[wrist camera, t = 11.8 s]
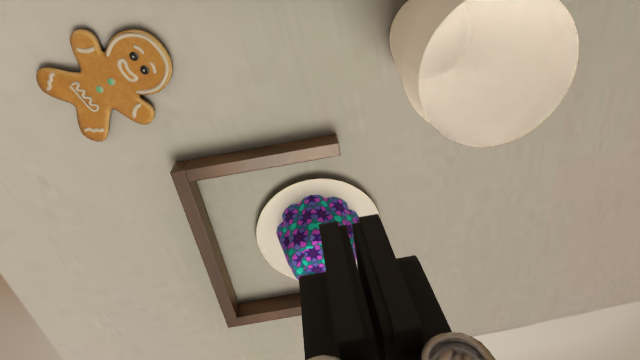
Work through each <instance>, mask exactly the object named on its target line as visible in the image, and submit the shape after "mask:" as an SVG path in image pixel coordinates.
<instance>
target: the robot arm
mask: <svg viewBox="0 0 640 360" xmlns="http://www.w3.org/2000/svg"><path fill="white" fill-rule="evenodd" d="M358 219H359V223H353V224H352V229H353V237H354V244H355V252H356V259H357V264H356V261H355V257H354V253H353V249H352V245H351V241H350V238H349V234H348V230H347V226H346V225H342V226H339V225H338V221H334V222H329V223H323V224H319V231H320V237H321V243H322V249H323V255H324V261H325V268H326V271H325V272H320V273H314V274H309V275H303V276H299V285H300V298H301V311H302V324H303V337H304V350H305V360H495V358H494V357H493V356H492V354H491V353H490V351H489V350H488V349H487V348H486V347H485V346H484V345H483V344H482V343H481V342H480V341H478V340H476V339H475V338H473V337H471V336H469V335H465V334H462V333H455V332H452V331H451V329H450V327H449V325H448V323H447V320H446V318H445V316H444V314H443V312H442V310H441V307H440V305H439V303H438V301H437V299H436V297H435V295H434V292H433V290H432V288H431V286H430V284H429V282H428V279H427V277H426V275H425V273H424V271H423V269H422V266H421V264H420V262H419V260H418V258H417V257H416V256H409V257H403V258H398V259H396V258H395V255H394V253H393V250H392V247H391V245H390V242H389V240H388V237H387V235H386V232H385V230H384V227H383V225H382V222H381V219H380V217H379V215H378V214H374V215H368V216H362V217H359V218H358ZM357 267H358V268H357Z"/></svg>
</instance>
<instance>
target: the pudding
mask: <svg viewBox="0 0 640 360" xmlns="http://www.w3.org/2000/svg"><path fill="white" fill-rule="evenodd" d="M374 214H378V215H379V212H378V210H377V208H376V206H375V204H374V203H373V202H372V201H371V199H370V198H369V197H368V196H367V195H366V194H365V193H364V192H362V191H361V190H359V189H358V188H356V187H354V186H353V185H350V184H348V183H345V182H342V181H338V180H333V179H311V180H305V181H302V182H298V183H295V184H293V185H291V186H288V187H286V188H285V189H283V190H282V191H280V192H279V193H277V194H276V195H275V196H274V197H273V198H272V199H271V200H270V201H269V202H268V203H267V204H266V206H265V207H264V208H263V210H262V212H261V214H260V217H259V219H258V223H257V229H256V237H257V242H258V246H259V249H260V251H261V253H262V255H263V256H264V258H265V259H266V261H267V262H268V263H269V264H270V265H271V266H272V267H273V268H274V269H276V270H277V271H279V272H280V273H282V274H284V275H286V276H288V277H290V278H293V279H297V280H299V276H303V275H309V274H314V273H320V272H325V271H326V268H325V261H324V255H323V249H322V243H321V237H320V231H319V224H323V223H329V222H334V221H338V225H339V226H342V225H346V226H347V230H348V234H349V238H350V241H351V245H352V249H353V253H354V257H355V261H356V264H357V259H356V252H355V244H354V237H353V229H352V224H353V223H359V219H358V218H359V217H362V216H368V215H374ZM379 217H380V216H379ZM357 268H358V267H357Z"/></svg>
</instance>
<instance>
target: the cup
mask: <svg viewBox="0 0 640 360" xmlns="http://www.w3.org/2000/svg"><path fill="white" fill-rule="evenodd" d="M389 42H390V49H391V53H392V56H393V59H394V62H395V65H396V67H397V70H398V73H399V76H400V79H401V82H402V84H403V87H404V90H405V93H406V95H407V97H408V99H409V101H410V103H411V104H412V106H413V107H414V109H415V110H416V111H417V112H418V114H419V115H420V116H422V117H423V118H424V119H425V120H426V121H428V122H429V123H430V124H431V125H432V126H433V127H435V128H436V129H437V130H438V131H439V132H440V133H441V134H442V135H444V136H445V137H447V138H448V139H450V140H452V141H454V142H456V143H459V144H462V145H467V146H473V147H491V146H497V145H501V144H505V143H508V142H511V141H513V140H516V139H518V138H520V137H522V136H524V135H526V134H527V133H529V132H531V131H532V130H534V129H535V128H536V127H538V126H539V125H540V124H541V123H542V122H544V121H545V120H546V119H547V118H548V117H549V116H550V115H551V114H552V113H553V111H554V110H555V109H556V108H557V107H558V105H559V104H560V103H561V101H562V100H563V98H564V96H565V95H566V93H567V91H568V89H569V87H570V85H571V83H572V80H573V78H574V75H575V72H576V68H577V63H578V56H579V40H578V34H577V29H576V26H575V23H574V21H573V18H572V16H571V15H570V13H569V11H568V10H567V8H566V7H565V6H564V5H563V4H562V2H561V1H560V0H408V1H407V2H406V3H405V4H404V5H403V6H402V7H401V8H400V10H399V11H398V13H397V14H396V16H395V18H394V20H393V23H392V26H391V30H390V36H389Z"/></svg>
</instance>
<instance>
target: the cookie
mask: <svg viewBox="0 0 640 360" xmlns="http://www.w3.org/2000/svg"><path fill="white" fill-rule="evenodd" d="M70 43H71V47H72V50H73V53H74V55H75V57H76V59H77V62H78V64H79V66H80V68H81V71H80V72H70V71H65V70H61V69H56V68H49V67H44V68H41V69H39V70H38V71H37V75H36V77H37V82H38V85H39V87H40V88H41V89H42V91H44V92H45V93H47V94H48V95H50V96H52V97H55V98H57V99H60V100H63V101H66V102H69V103H71V104H73V105H74V106H75V107H76V111H77V118H78V124H79V127H80V130H81V132H82V134H83V135H84V136H86V137H87V138H89V139H91V140H94V141H103V140H105V139H106V138H107V136H108V133H109V123H110V114H111V110H112V109H116V110H117V111H119V112H120V113H122V114H123V115H125V116H126V117H128V118H129V119H131V120H133V121H135V122H137V123H139V124H148V123H151V122H152V120H153V119H154V116H155V112H154V108H153V107H152V105H151V104H149V103H148V102H147V101H145V100H144V99H142V98H141V97H140V95H148V94H155V93H157V92H159V91H161V90H162V89H163V88H164V87H165V86H166V85H167V84H168V82H169V80H170V79H171V77H172V72H173V67H172V61H171V58H170V56H169V54H168V52H167V50H166V49H165V48H164V46H163V45H162V44H161V43H160V41H159V40H158V39H157V38H155V37H154V36H153V35H151V34H150V33H148V32H145V31H143V30H138V29H130V30H125V31H121V32H119V33H117V34H116V35H114V36H113V37H112V38H111V39H110V41H109V43H108V45H107V48H106V51H105V52H104V51H103V50H102V48H101V46H100V43H99V41H98V39H97V37H96V36H95V35H94V34H93V33H92V32H90V31H88V30H84V29H79V30H75V31H74V32H73V33H72V34H71V37H70Z"/></svg>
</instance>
